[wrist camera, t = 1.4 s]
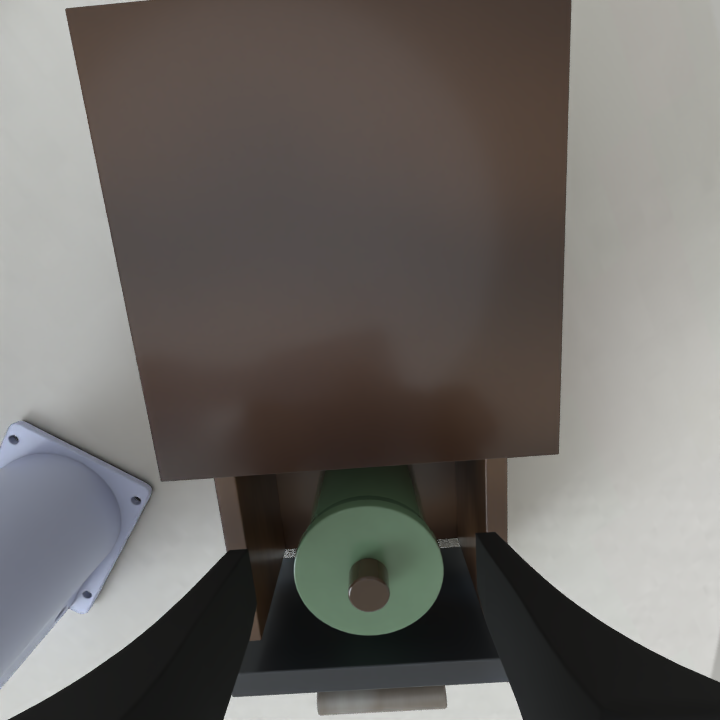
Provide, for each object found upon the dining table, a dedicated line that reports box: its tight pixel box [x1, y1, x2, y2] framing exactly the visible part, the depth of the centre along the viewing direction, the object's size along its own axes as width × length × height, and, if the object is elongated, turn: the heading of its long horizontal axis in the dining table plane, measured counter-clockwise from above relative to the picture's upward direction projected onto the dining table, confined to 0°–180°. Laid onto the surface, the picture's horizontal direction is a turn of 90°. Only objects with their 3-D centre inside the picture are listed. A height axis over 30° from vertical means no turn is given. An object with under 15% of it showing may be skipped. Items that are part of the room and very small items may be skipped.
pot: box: [294, 464, 444, 636], centre depth 18 cm, size 5×5×8 cm
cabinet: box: [65, 0, 571, 482], centre depth 17 cm, size 14×13×9 cm
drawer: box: [214, 458, 509, 715], centre depth 20 cm, size 16×12×7 cm
